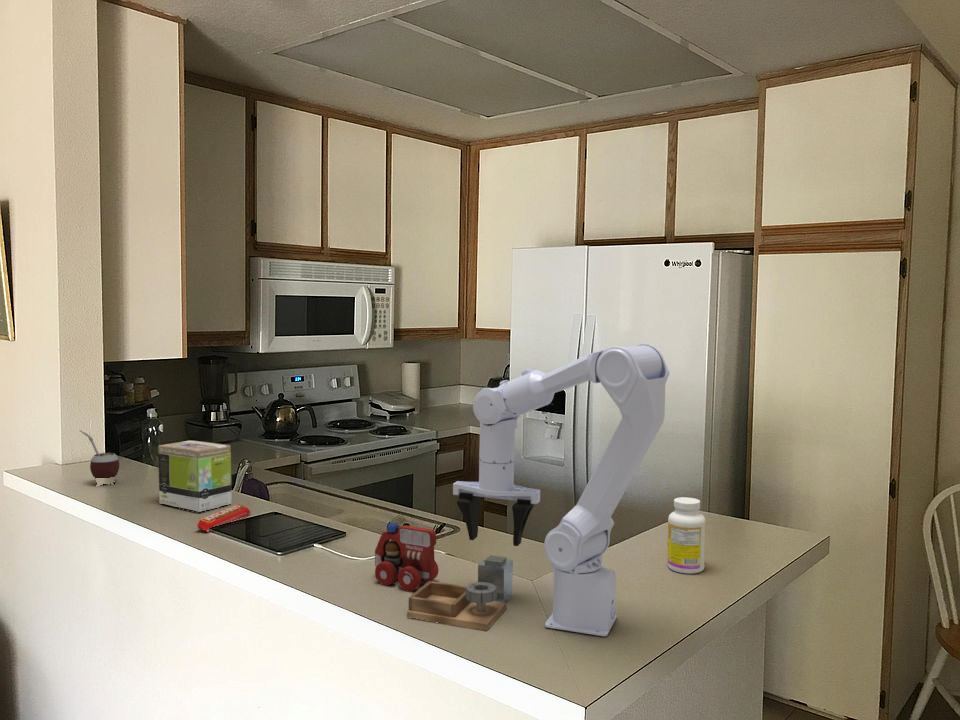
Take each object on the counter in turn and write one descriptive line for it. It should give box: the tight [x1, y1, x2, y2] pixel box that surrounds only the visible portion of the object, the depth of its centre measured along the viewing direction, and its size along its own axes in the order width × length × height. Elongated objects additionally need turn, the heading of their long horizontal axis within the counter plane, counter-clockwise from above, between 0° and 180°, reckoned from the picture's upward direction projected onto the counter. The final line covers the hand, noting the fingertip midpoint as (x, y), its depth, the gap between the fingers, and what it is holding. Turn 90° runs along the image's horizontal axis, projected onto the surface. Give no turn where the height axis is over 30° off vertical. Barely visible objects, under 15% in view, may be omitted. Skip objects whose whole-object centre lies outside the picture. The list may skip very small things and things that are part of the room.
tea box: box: [157, 440, 233, 511], centre depth 186 cm, size 15×10×15 cm, turn 58°
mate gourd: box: [79, 430, 120, 479], centre depth 207 cm, size 8×8×15 cm
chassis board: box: [406, 580, 507, 632], centre depth 122 cm, size 13×9×4 cm
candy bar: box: [196, 503, 252, 532], centre depth 172 cm, size 16×4×3 cm, turn 162°
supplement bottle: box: [667, 496, 706, 575], centre depth 143 cm, size 7×7×13 cm
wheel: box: [466, 581, 497, 604], centre depth 121 cm, size 5×5×2 cm
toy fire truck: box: [374, 521, 439, 592], centre depth 136 cm, size 7×12×10 cm, turn 58°
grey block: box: [477, 554, 514, 603], centre depth 129 cm, size 4×4×7 cm
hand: (495, 541), depth 128 cm, fingers open, 7 cm apart
